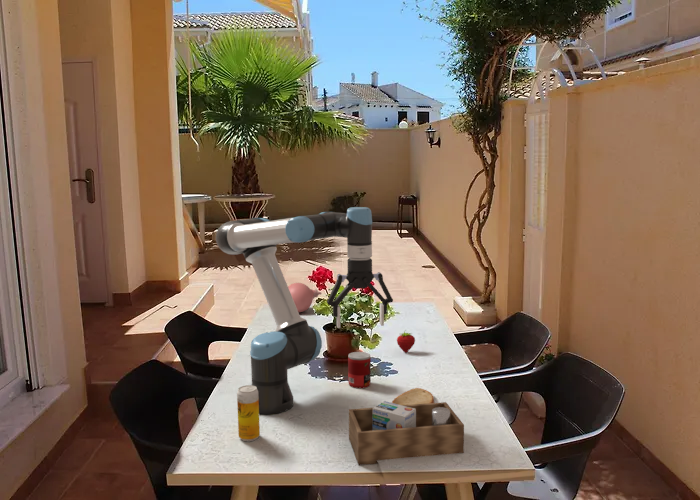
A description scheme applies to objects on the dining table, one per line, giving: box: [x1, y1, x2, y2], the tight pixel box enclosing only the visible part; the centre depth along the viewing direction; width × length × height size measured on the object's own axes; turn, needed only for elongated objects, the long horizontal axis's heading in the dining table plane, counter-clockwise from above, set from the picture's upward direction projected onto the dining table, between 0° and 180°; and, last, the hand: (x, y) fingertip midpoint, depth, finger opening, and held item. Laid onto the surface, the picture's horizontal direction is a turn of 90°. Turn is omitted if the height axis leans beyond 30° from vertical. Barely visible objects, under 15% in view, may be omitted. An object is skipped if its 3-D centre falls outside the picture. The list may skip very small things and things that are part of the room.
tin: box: [432, 407, 450, 426], centre depth 180 cm, size 5×5×9 cm
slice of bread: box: [391, 387, 435, 405], centre depth 209 cm, size 18×18×4 cm
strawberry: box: [396, 330, 416, 353], centre depth 262 cm, size 6×8×10 cm
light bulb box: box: [372, 400, 416, 431], centre depth 178 cm, size 11×7×11 cm, turn 55°
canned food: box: [347, 351, 372, 389], centre depth 227 cm, size 8×8×11 cm
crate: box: [348, 401, 465, 466], centre depth 179 cm, size 29×16×9 cm, turn 99°
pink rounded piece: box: [287, 282, 322, 314], centre depth 329 cm, size 15×20×15 cm
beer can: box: [236, 384, 260, 442], centre depth 185 cm, size 6×6×15 cm
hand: (360, 325), depth 198 cm, fingers open, 13 cm apart
